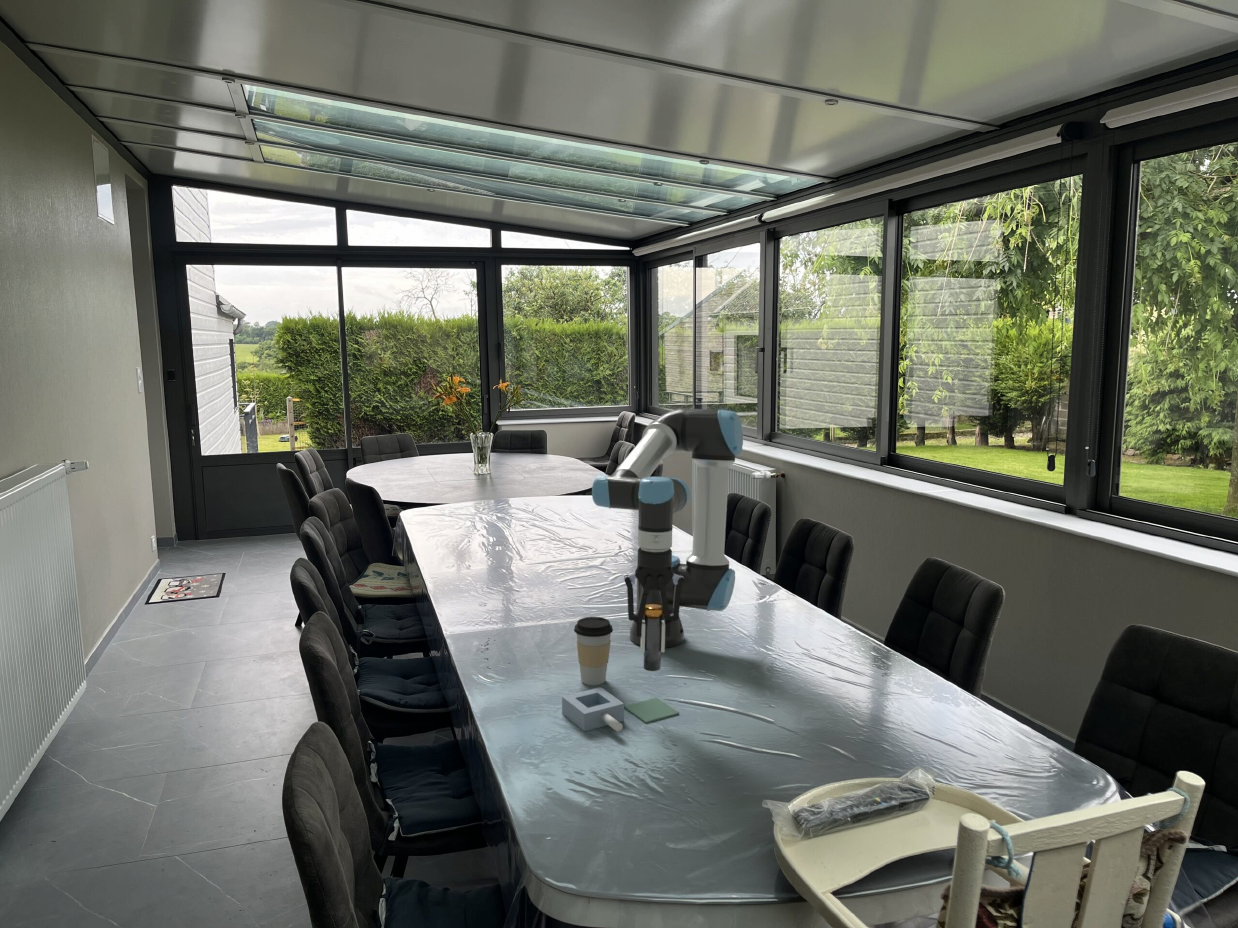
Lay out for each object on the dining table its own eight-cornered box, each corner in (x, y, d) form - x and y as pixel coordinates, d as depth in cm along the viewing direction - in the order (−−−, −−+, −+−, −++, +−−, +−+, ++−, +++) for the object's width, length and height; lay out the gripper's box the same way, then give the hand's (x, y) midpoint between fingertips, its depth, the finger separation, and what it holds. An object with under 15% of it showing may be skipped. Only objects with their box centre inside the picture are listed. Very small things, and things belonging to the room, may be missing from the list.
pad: (623, 707, 190) (623, 705, 190) (656, 699, 195) (656, 697, 195) (645, 723, 182) (645, 721, 182) (679, 713, 187) (679, 712, 187)
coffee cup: (616, 675, 208) (617, 617, 205) (606, 690, 199) (606, 630, 196) (580, 671, 210) (581, 613, 208) (568, 685, 201) (568, 626, 199)
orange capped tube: (642, 671, 184) (643, 610, 182) (641, 663, 189) (642, 604, 187) (663, 671, 184) (664, 610, 182) (661, 663, 189) (662, 604, 187)
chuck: (562, 713, 187) (562, 696, 186) (600, 703, 192) (600, 686, 191) (598, 743, 173) (598, 724, 173) (638, 731, 178) (639, 714, 178)
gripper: (617, 551, 179) (615, 656, 182) (695, 552, 179) (691, 656, 183) (616, 543, 186) (614, 643, 190) (690, 544, 187) (687, 644, 190)
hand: (652, 649), depth 186 cm, fingers closed on orange capped tube, 4 cm apart
